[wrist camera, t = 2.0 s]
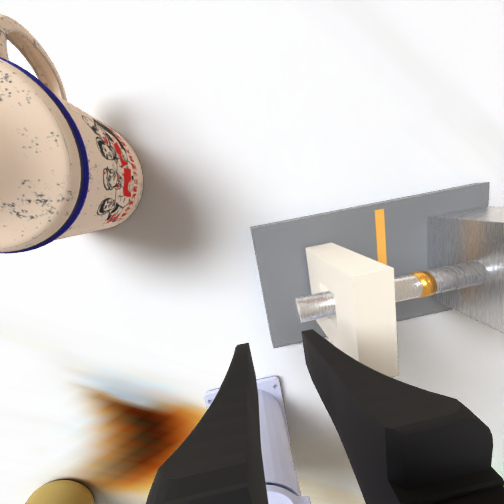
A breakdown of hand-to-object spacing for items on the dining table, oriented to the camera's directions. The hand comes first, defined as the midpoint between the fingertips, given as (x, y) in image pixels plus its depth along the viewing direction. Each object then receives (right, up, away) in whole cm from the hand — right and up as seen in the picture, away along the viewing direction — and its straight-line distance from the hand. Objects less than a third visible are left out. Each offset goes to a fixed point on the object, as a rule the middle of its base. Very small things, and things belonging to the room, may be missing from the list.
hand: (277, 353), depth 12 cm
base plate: (+10, +4, +11) cm, 15 cm away
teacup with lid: (-15, +13, +7) cm, 21 cm away
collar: (+5, +3, +9) cm, 11 cm away
